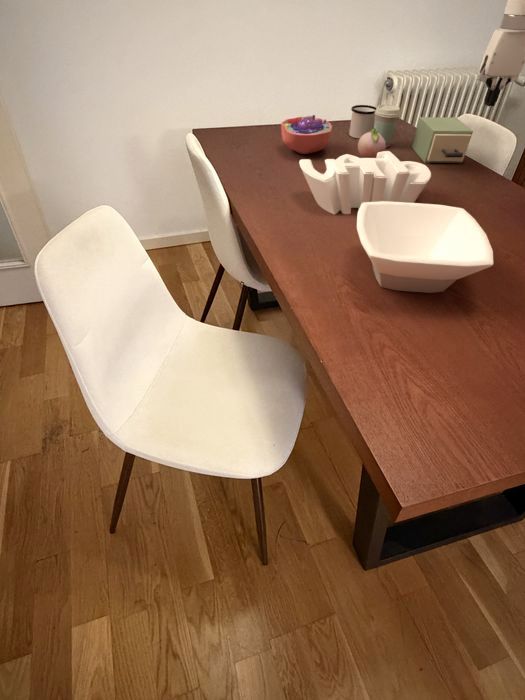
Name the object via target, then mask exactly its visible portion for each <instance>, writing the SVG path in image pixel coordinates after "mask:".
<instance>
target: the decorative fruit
mask: <svg viewBox="0 0 525 700" xmlns="http://www.w3.org/2000/svg"><path fill="white" fill-rule="evenodd" d="M382 151H386V148H385V140H384V138H383V137H382V136H381V134H380V133H378V131H377V130H376V129H375V130H374V129H373V130H371V132H368V133H365V134H364V135H363V136H362V137H361V138H360V139H358V143H357V152H358V154H359V155H360V156H361V158H376V157H377V153H378V152H382Z"/></svg>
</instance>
